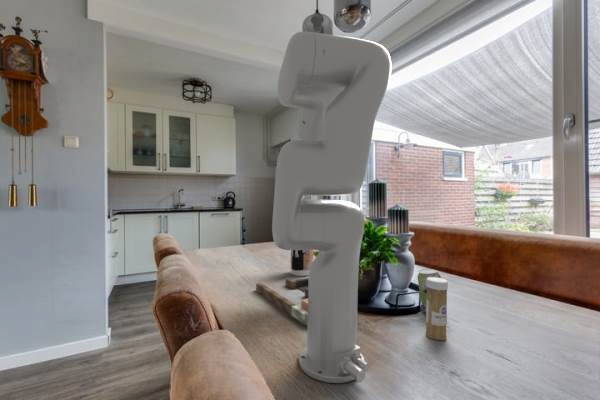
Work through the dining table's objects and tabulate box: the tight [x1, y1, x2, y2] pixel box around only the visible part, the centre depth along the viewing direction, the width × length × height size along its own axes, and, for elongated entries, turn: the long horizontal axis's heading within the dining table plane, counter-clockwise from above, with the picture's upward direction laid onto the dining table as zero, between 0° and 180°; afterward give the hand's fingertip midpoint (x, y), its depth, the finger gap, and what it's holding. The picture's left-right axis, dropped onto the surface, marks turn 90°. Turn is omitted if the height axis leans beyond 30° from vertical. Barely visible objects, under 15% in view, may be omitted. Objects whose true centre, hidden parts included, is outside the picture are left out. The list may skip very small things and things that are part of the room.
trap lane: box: [255, 277, 309, 328], centre depth 89 cm, size 32×22×3 cm
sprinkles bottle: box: [425, 277, 449, 341], centre depth 66 cm, size 5×5×14 cm
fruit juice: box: [290, 250, 314, 277], centre depth 119 cm, size 9×9×28 cm
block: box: [300, 298, 308, 312], centre depth 77 cm, size 6×6×4 cm
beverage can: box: [417, 269, 442, 313], centre depth 80 cm, size 6×7×12 cm
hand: (297, 269), depth 85 cm, fingers closed
